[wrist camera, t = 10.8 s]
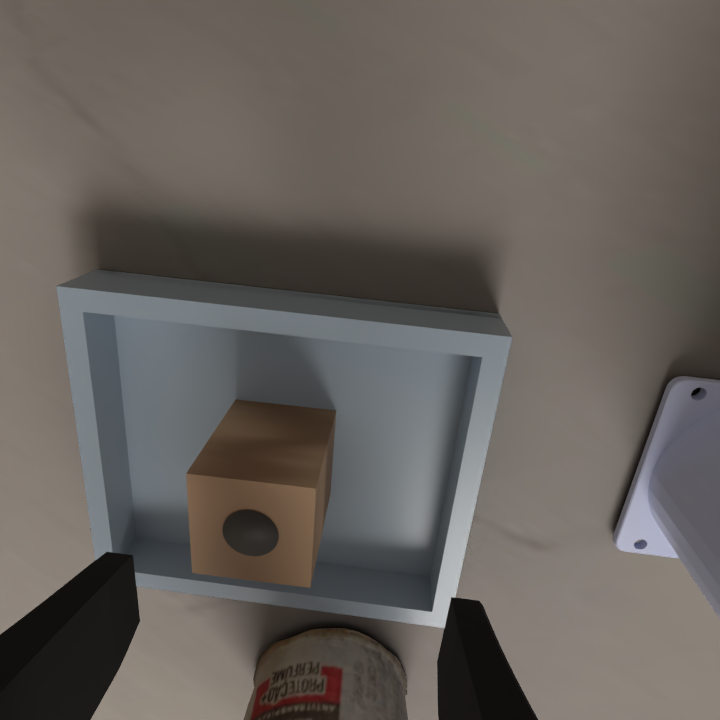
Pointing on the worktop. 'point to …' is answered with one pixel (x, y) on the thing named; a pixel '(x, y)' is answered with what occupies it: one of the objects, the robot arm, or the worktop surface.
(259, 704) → the spray can
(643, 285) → the worktop surface
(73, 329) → the slate tray
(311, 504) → the tan wooden block
